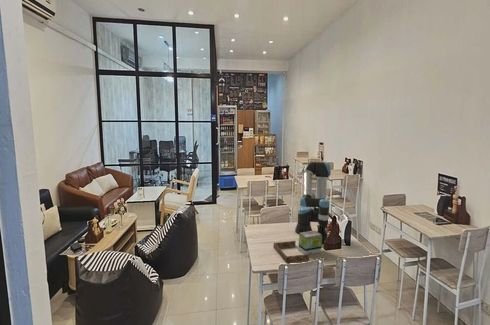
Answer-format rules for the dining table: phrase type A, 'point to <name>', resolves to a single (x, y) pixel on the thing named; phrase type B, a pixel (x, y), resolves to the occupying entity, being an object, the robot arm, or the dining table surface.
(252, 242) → the dining table surface
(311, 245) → the tea box
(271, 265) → the dining table surface
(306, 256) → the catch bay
